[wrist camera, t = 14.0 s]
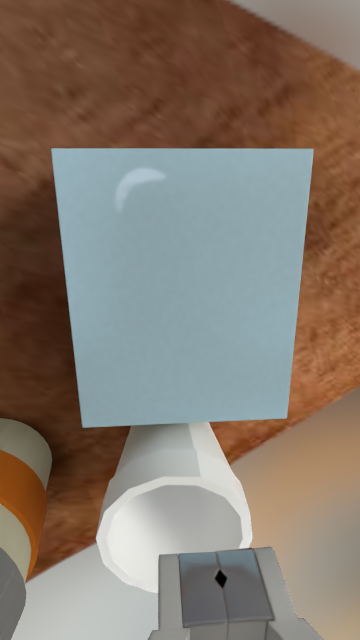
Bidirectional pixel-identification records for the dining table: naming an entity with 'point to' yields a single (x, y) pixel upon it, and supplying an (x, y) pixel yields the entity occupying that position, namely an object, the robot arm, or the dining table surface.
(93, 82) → the dining table surface
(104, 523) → the foam cup
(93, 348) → the hatch
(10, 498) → the reusable coffee cup
